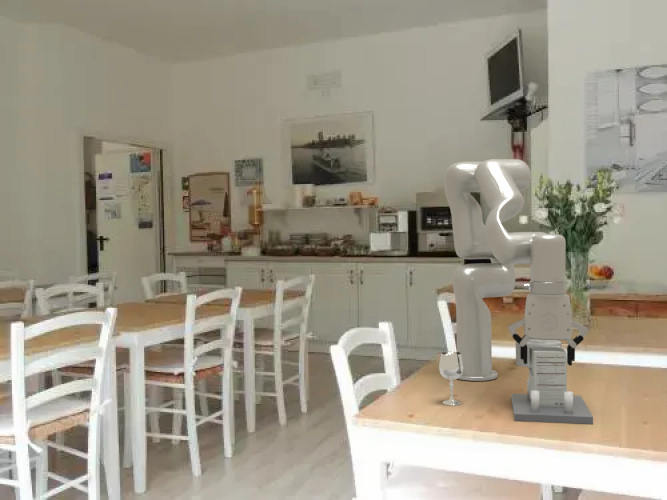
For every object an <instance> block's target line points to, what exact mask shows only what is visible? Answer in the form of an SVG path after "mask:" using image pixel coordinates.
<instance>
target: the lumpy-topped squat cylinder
mask: <svg viewBox="0 0 667 500" xmlns="http://www.w3.org/2000/svg"><path fill="white" fill-rule="evenodd" d="M526 345H527V363H526V364H524V362H523V359H520V345H519V344H518V343H517V342H516V341H515V366H517V365H518V367H522V368H523V367H525V368H529V346H560V347H561V348H562V347H563V345H562V341H561V340H535V339H530V340H529V341H528V342H527V343H526ZM562 349H563V348H562Z"/></svg>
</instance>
